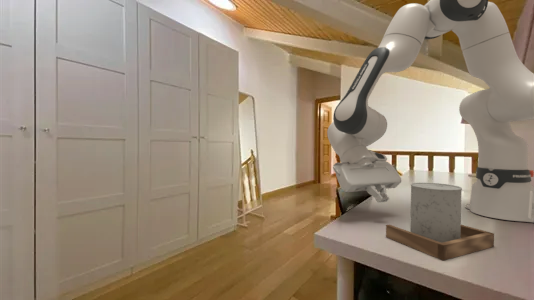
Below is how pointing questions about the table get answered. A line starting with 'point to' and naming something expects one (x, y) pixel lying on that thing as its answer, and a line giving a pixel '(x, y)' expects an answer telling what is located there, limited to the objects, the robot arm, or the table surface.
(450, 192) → the grey speckled cylinder
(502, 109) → the robot arm
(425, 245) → the walnut corral
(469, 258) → the table surface
